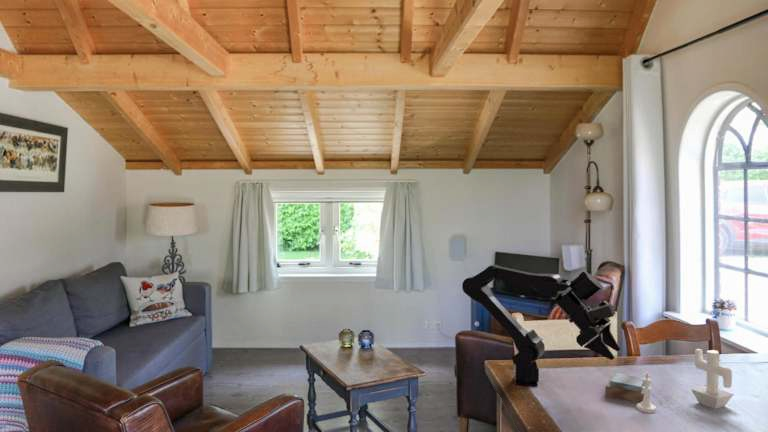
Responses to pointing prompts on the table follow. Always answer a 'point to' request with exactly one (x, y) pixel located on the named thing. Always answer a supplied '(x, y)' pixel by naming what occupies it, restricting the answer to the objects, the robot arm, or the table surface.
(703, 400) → the figurine
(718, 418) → the table surface
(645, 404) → the chess piece
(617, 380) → the stepped pedestal base
